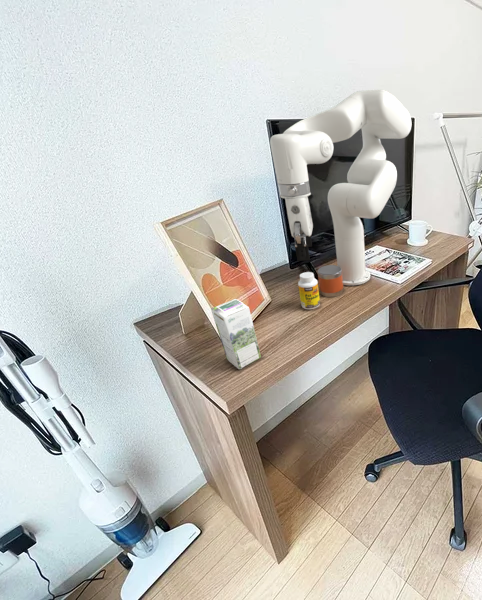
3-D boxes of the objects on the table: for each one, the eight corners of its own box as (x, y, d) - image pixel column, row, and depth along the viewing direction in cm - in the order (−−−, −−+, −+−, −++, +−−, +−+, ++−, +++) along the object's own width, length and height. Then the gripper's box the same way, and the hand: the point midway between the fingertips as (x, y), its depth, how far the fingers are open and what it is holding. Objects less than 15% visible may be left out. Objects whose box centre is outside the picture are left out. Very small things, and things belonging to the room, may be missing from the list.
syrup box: (249, 348, 80) (234, 297, 73) (262, 358, 77) (248, 305, 69) (227, 360, 76) (209, 307, 69) (239, 371, 73) (222, 316, 66)
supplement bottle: (305, 312, 94) (300, 280, 89) (298, 304, 98) (293, 273, 93) (323, 306, 97) (319, 275, 92) (316, 299, 101) (311, 269, 96)
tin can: (320, 287, 108) (317, 265, 104) (343, 285, 109) (341, 264, 105) (319, 298, 102) (316, 275, 98) (343, 296, 102) (341, 273, 98)
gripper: (307, 196, 74) (317, 265, 83) (312, 181, 89) (320, 241, 98) (273, 198, 73) (287, 267, 82) (284, 183, 88) (294, 243, 97)
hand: (305, 253), depth 90 cm, fingers open, 9 cm apart
